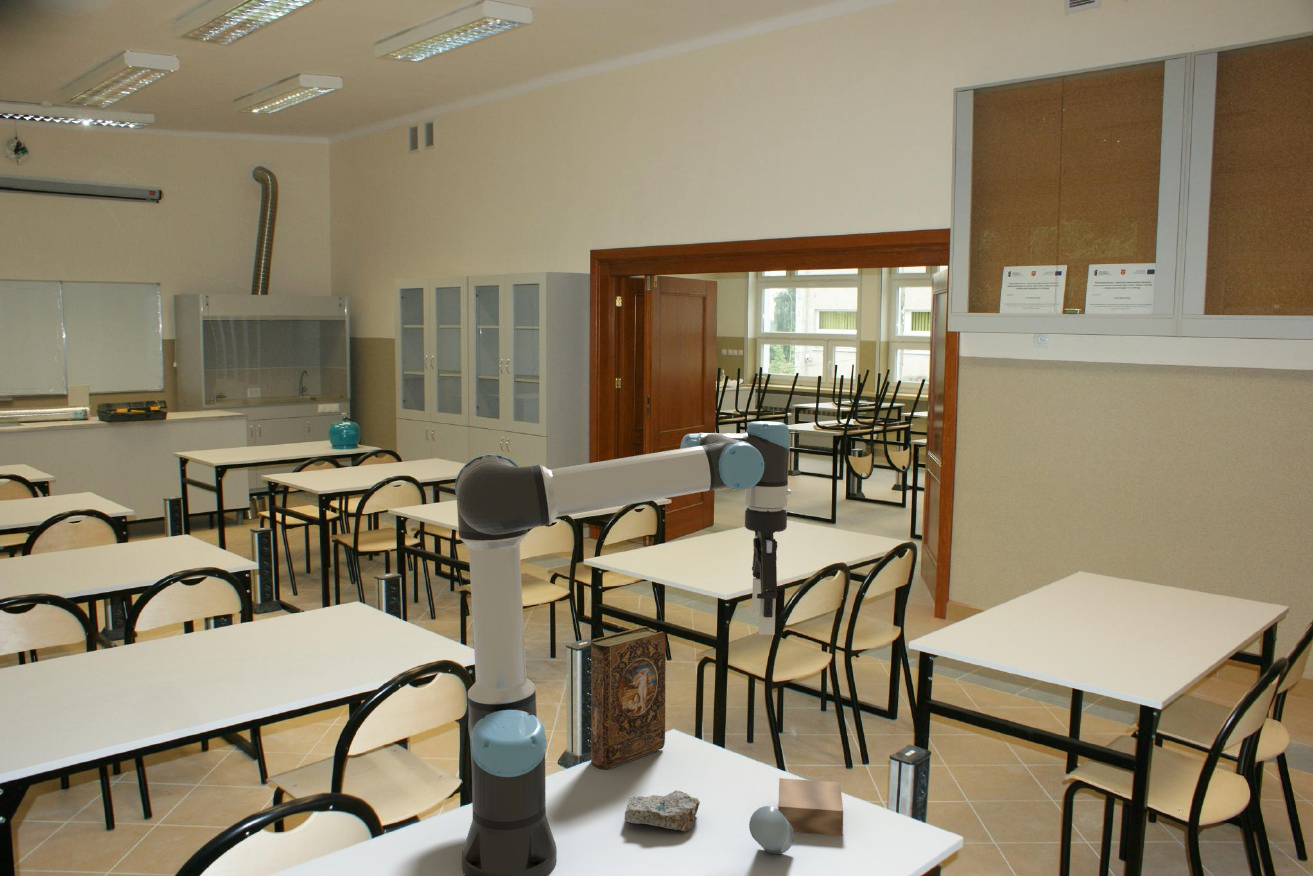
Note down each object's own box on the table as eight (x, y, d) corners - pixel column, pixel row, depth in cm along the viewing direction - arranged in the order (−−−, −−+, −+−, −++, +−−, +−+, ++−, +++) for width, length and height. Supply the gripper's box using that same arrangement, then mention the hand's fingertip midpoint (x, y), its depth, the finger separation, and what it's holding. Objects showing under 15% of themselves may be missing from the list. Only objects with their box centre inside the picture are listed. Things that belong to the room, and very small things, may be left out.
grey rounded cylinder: (792, 833, 154) (800, 843, 160) (774, 799, 158) (783, 810, 164) (759, 852, 154) (768, 861, 160) (742, 817, 158) (752, 827, 164)
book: (604, 771, 191) (604, 647, 188) (586, 762, 195) (586, 641, 192) (665, 748, 202) (666, 631, 200) (647, 740, 206) (648, 625, 204)
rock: (620, 832, 166) (620, 804, 166) (631, 808, 176) (630, 781, 175) (695, 837, 164) (694, 808, 164) (701, 812, 174) (701, 785, 173)
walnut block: (777, 834, 168) (778, 806, 167) (778, 804, 178) (779, 778, 178) (842, 838, 166) (843, 811, 166) (839, 808, 177) (840, 782, 176)
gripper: (796, 520, 162) (792, 644, 164) (779, 497, 186) (775, 605, 188) (751, 519, 162) (747, 643, 164) (740, 496, 186) (737, 604, 189)
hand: (762, 623), depth 176 cm, fingers open, 13 cm apart
